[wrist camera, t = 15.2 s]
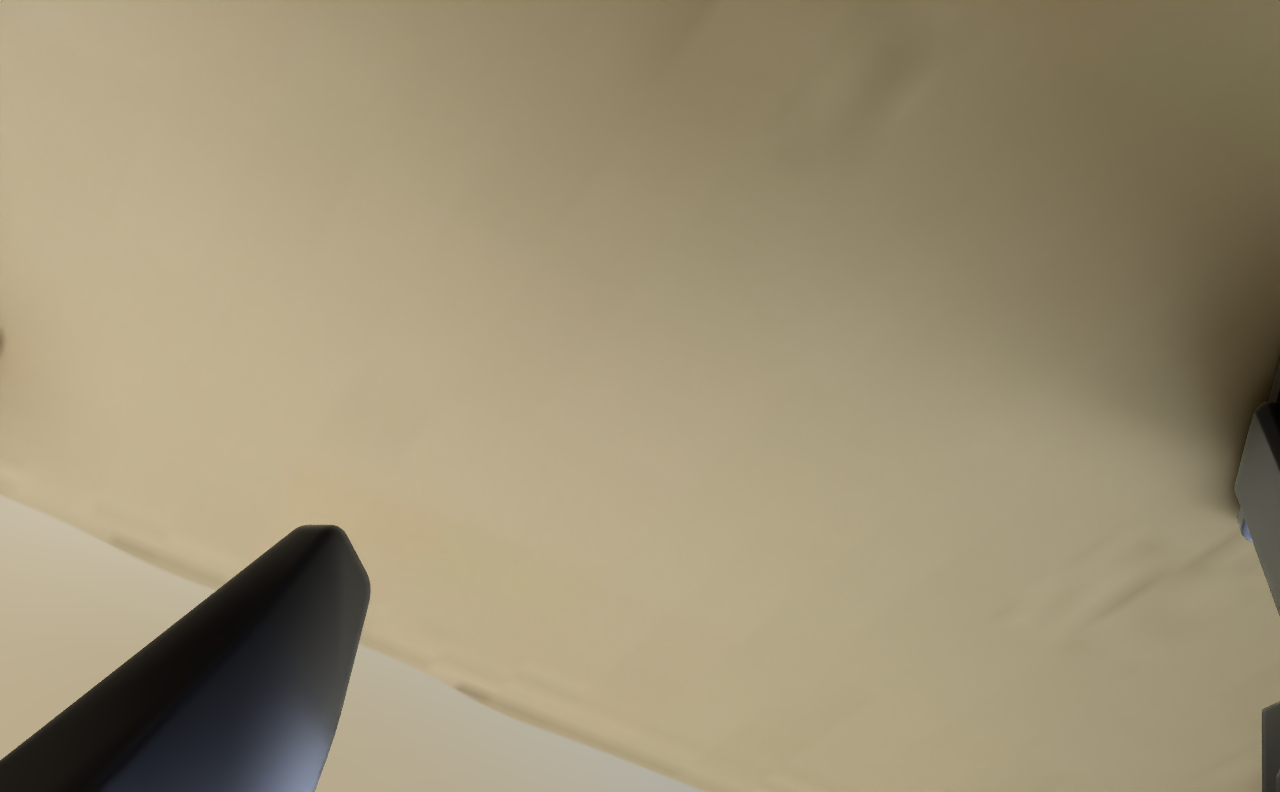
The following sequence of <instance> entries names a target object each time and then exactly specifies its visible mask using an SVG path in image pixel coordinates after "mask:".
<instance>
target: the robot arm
mask: <svg viewBox="0 0 1280 792" xmlns="http://www.w3.org/2000/svg"><path fill="white" fill-rule="evenodd" d="M1234 490H1235V493H1236V496H1237V499H1238V502H1239V505H1240V509H1239V513H1238V516H1237V517H1238V524H1239V527H1240V530H1241V533H1242V535H1243V536H1244V537H1245V538H1246V539H1247V540H1249V541H1251V542H1253V543H1254V546H1255V549H1256V552H1257V555H1258V557H1259V560H1260V563H1261V566H1262V568H1263V571H1264V574H1265V577H1266V579H1267V582H1268V585H1269V588H1270V591H1271V593H1272V596H1273V599H1274V602H1275V604H1276V607H1277V610H1278V613H1279V616H1280V360H1279V364H1278V367H1277V371H1276V375H1275V379H1274V382H1273V386H1272V390H1271V393H1270V397H1269V401H1268V402H1264V403H1262V404H1261V405H1260V406H1259V407H1258V408H1257V409H1256V410H1255V411H1254V413H1253V416H1252V420H1251V424H1250V428H1249V432H1248V436H1247V439H1246V443H1245V447H1244V451H1243V455H1242V459H1241V463H1240V466H1239V470H1238V474H1237V478H1236V482H1235V486H1234ZM369 600H370V581H369V577H368V575H367V572H366V571H365V569H364V567H363V565H362V563H361V561H360V559H359V557H358V555H357V554H356V552H355V550H354V548H353V546H352V544H351V542H350V540H349V538H348V537H347V535H346V533H345V532H344V531H343V530H342V529H341V528H339V527H338V526H335V525H304V526H300V527H298V528H296V529H295V530H293V531H292V532H291V533H289V534H288V535H287V536H286V537H284V538H283V539H282V540H280V541H279V542H278V543H277V544H275V545H274V546H273V547H272V548H270V549H269V550H268V551H266V552H265V553H264V554H263V555H261V556H260V557H259V558H258V559H256V560H255V561H254V562H252V563H251V564H250V565H249V566H247V567H246V568H245V569H244V570H242V571H241V572H240V573H238V574H237V575H236V576H235V577H233V578H232V579H231V580H230V581H228V582H227V583H226V584H224V585H223V586H222V587H221V588H219V589H218V590H217V591H216V592H215V593H213V594H212V595H210V596H209V597H208V598H207V599H205V600H204V601H203V602H202V603H200V604H199V605H198V606H196V607H195V608H194V609H193V610H191V611H190V612H189V613H188V614H186V615H185V616H184V617H183V618H181V619H180V620H179V621H177V622H176V623H175V624H174V625H172V626H171V627H170V628H168V629H167V630H166V631H165V632H163V633H162V634H161V635H160V636H158V637H157V638H156V639H154V640H153V641H152V642H151V643H149V644H148V645H147V646H146V647H144V648H143V649H142V650H140V651H139V652H138V653H137V654H135V655H134V656H133V657H132V658H131V659H129V660H128V661H127V662H125V663H124V664H123V665H121V666H120V667H119V668H118V669H116V670H115V671H114V672H112V673H111V674H110V675H109V676H107V677H106V678H105V679H104V680H102V681H101V682H100V683H98V684H97V685H96V686H95V687H93V688H92V689H91V690H90V691H88V692H87V693H86V694H84V695H83V696H82V697H81V698H79V699H78V700H77V701H76V702H74V703H73V704H72V705H70V706H69V707H68V708H67V709H65V710H64V711H63V712H62V713H60V714H59V715H58V716H56V717H55V718H54V719H53V720H51V721H50V722H49V723H47V724H46V725H45V726H44V727H43V728H41V729H40V730H39V731H37V732H36V733H35V734H34V735H32V736H31V737H30V738H29V739H27V740H26V741H25V742H23V743H22V744H21V745H19V746H18V747H17V748H16V749H15V750H13V751H12V752H11V753H9V754H8V755H7V756H5V757H4V758H3V759H2V760H0V792H314V791H315V789H316V786H317V783H318V780H319V778H320V775H321V772H322V770H323V767H324V764H325V761H326V759H327V756H328V753H329V750H330V747H331V744H332V741H333V738H334V735H335V731H336V729H337V725H338V721H339V718H340V715H341V711H342V707H343V703H344V699H345V695H346V691H347V687H348V683H349V679H350V676H351V672H352V668H353V664H354V659H355V656H356V652H357V648H358V644H359V640H360V636H361V632H362V628H363V624H364V620H365V616H366V612H367V609H368V605H369ZM1262 792H1280V701H1279V702H1277V703H1275V704H1273V705H1270V706H1268V707H1266V708H1264V709H1263V710H1262Z"/></svg>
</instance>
